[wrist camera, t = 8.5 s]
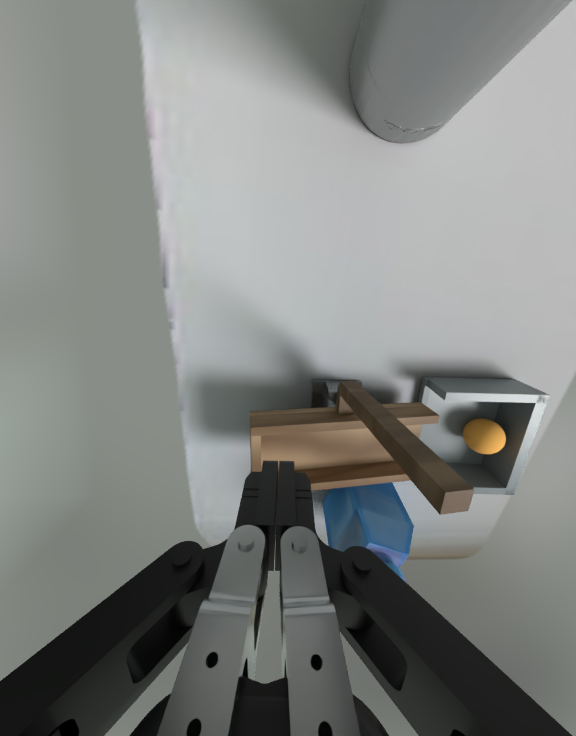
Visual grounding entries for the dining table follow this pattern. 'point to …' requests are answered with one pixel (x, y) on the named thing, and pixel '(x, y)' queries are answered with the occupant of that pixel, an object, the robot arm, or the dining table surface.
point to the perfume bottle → (369, 522)
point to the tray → (489, 401)
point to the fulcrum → (325, 393)
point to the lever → (358, 446)
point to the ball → (484, 436)
